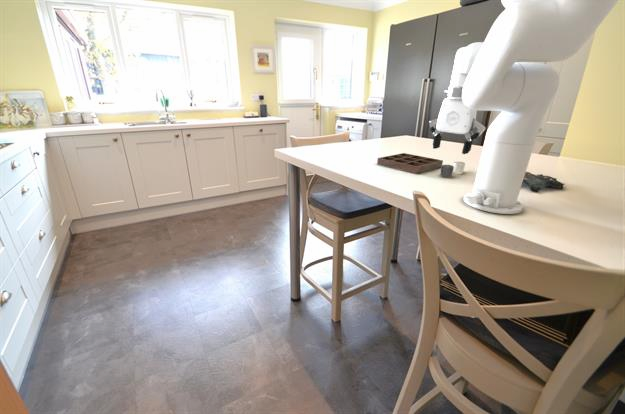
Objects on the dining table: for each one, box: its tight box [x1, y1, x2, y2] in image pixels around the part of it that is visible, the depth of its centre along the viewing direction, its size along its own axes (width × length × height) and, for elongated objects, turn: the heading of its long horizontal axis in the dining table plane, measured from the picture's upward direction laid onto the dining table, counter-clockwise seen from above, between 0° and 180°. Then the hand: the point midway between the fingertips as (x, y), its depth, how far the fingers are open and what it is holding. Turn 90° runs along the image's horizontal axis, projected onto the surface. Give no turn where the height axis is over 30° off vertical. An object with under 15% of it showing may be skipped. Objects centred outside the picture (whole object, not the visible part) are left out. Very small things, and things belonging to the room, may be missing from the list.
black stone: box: [439, 164, 454, 179], centre depth 93 cm, size 4×4×4 cm
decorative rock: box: [522, 171, 565, 193], centre depth 87 cm, size 19×6×15 cm
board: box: [376, 152, 444, 175], centre depth 107 cm, size 17×17×2 cm
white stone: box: [452, 161, 466, 175], centre depth 98 cm, size 4×4×4 cm
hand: (450, 150), depth 92 cm, fingers open, 9 cm apart
